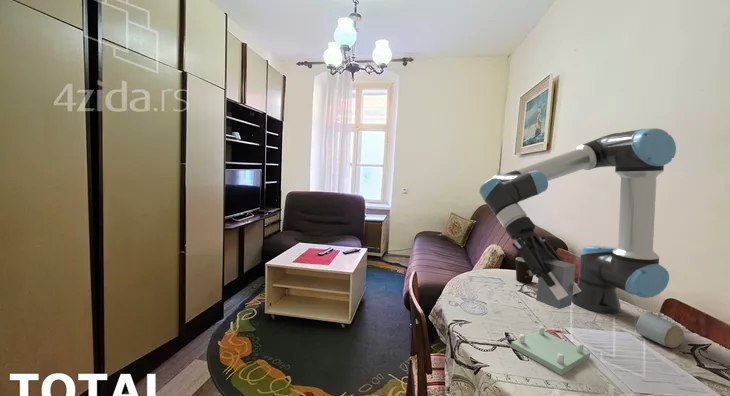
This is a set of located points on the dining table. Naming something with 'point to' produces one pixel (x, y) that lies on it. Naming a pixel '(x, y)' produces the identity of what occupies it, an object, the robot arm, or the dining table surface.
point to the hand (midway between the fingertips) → (569, 295)
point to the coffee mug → (523, 272)
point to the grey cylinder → (659, 330)
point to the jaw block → (564, 276)
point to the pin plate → (551, 350)
